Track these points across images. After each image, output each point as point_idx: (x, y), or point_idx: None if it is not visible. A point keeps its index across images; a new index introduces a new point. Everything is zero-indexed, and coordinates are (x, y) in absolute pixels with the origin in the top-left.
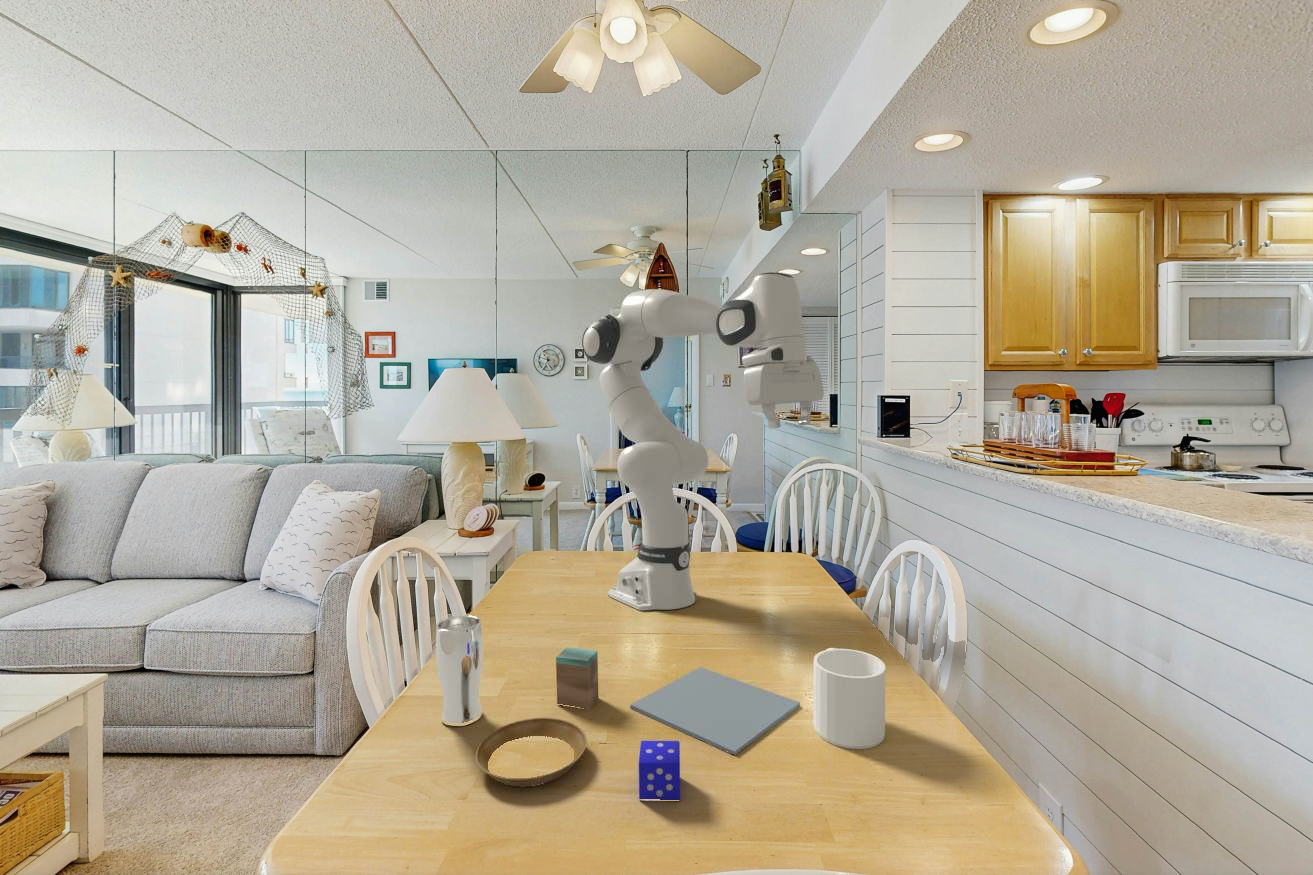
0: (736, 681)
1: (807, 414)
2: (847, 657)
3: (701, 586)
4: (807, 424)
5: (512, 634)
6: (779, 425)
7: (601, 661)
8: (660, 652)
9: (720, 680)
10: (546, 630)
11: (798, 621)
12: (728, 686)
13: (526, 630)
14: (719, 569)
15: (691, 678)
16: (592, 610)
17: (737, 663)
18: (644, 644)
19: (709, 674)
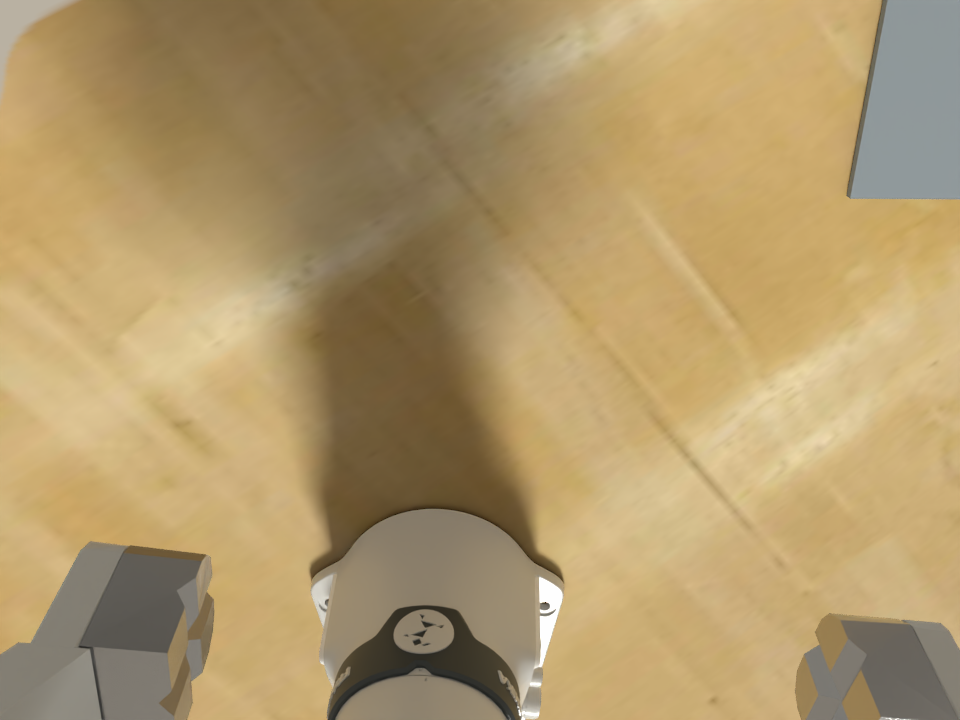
0: (888, 51)
1: (69, 675)
2: None
3: (246, 584)
4: (151, 549)
5: None
6: (870, 626)
7: (936, 433)
8: (797, 356)
9: (905, 95)
10: None
11: (291, 168)
12: (930, 51)
13: None
14: None
15: (935, 170)
16: (644, 672)
17: (740, 136)
18: (772, 423)
19: (884, 145)
